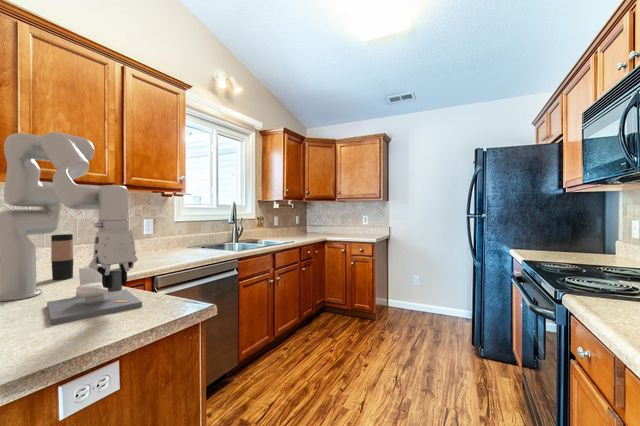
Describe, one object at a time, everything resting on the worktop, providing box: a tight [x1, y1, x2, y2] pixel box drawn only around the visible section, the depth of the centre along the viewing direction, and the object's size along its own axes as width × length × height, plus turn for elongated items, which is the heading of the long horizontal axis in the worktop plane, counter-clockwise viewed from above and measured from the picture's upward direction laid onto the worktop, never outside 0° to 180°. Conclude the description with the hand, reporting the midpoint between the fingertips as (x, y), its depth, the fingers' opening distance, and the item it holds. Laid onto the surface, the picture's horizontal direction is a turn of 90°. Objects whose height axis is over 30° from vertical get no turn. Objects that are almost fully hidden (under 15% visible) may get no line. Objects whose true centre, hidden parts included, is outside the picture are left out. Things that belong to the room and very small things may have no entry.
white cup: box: [78, 264, 102, 286], centre depth 114 cm, size 8×8×10 cm
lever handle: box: [75, 268, 123, 297], centre depth 97 cm, size 20×10×8 cm, turn 62°
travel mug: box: [50, 233, 74, 281], centre depth 138 cm, size 8×8×20 cm
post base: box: [46, 288, 143, 326], centre depth 98 cm, size 22×22×4 cm
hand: (115, 285), depth 92 cm, fingers closed on lever handle, 3 cm apart
